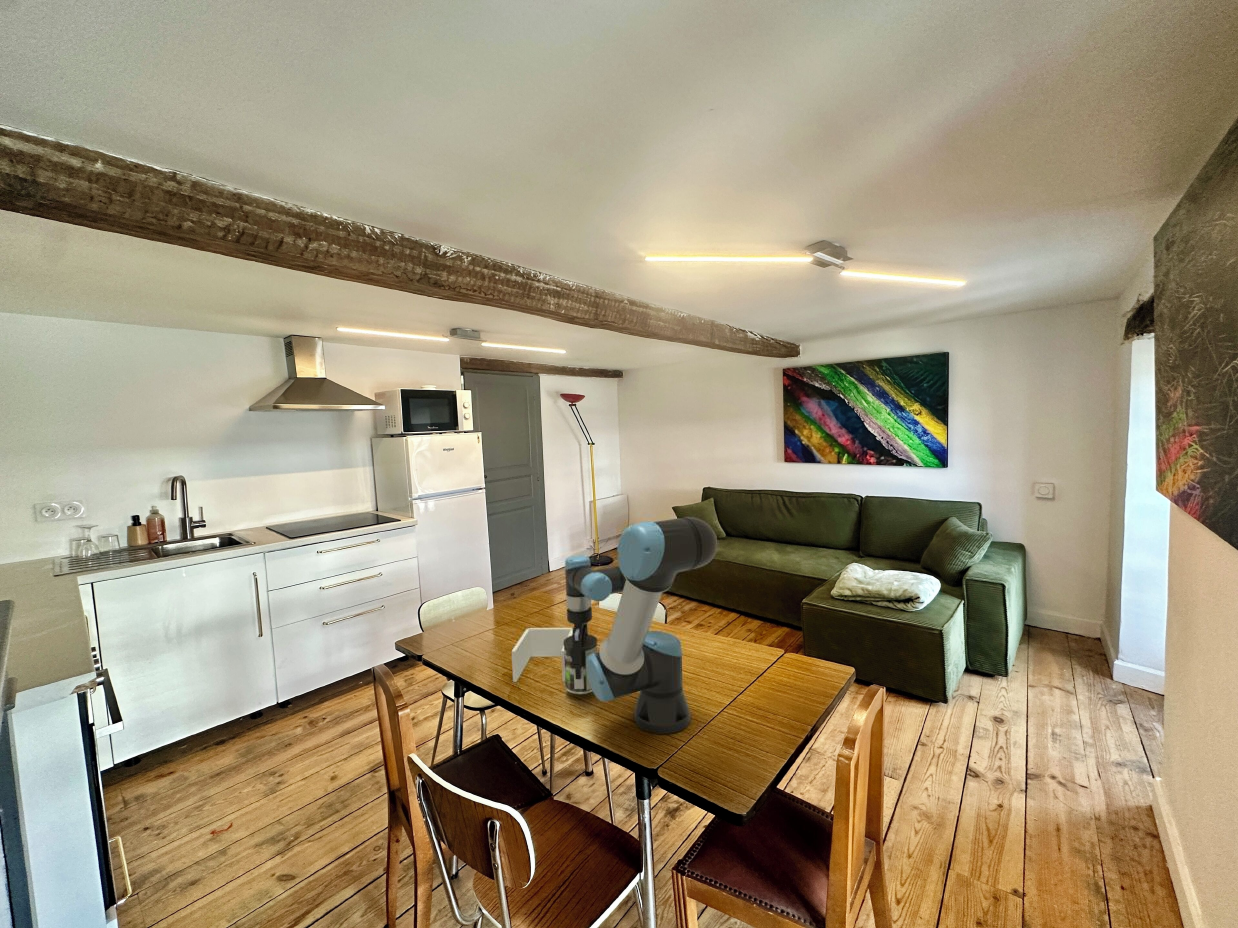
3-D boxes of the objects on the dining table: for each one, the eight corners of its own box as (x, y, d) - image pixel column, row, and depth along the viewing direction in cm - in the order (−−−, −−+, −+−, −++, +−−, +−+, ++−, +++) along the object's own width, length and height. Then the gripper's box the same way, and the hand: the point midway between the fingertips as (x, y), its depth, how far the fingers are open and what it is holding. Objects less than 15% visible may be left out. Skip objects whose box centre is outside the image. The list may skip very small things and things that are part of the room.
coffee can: (570, 697, 142) (568, 650, 141) (561, 681, 151) (559, 637, 150) (603, 690, 145) (601, 643, 144) (593, 674, 155) (591, 631, 154)
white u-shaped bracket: (566, 681, 156) (565, 651, 155) (513, 681, 157) (511, 651, 157) (575, 655, 175) (574, 627, 174) (528, 655, 176) (527, 628, 176)
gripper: (586, 621, 135) (589, 699, 137) (596, 595, 158) (598, 661, 159) (559, 621, 136) (562, 698, 137) (573, 595, 158) (575, 661, 160)
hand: (581, 679), depth 148 cm, fingers closed on coffee can, 10 cm apart
